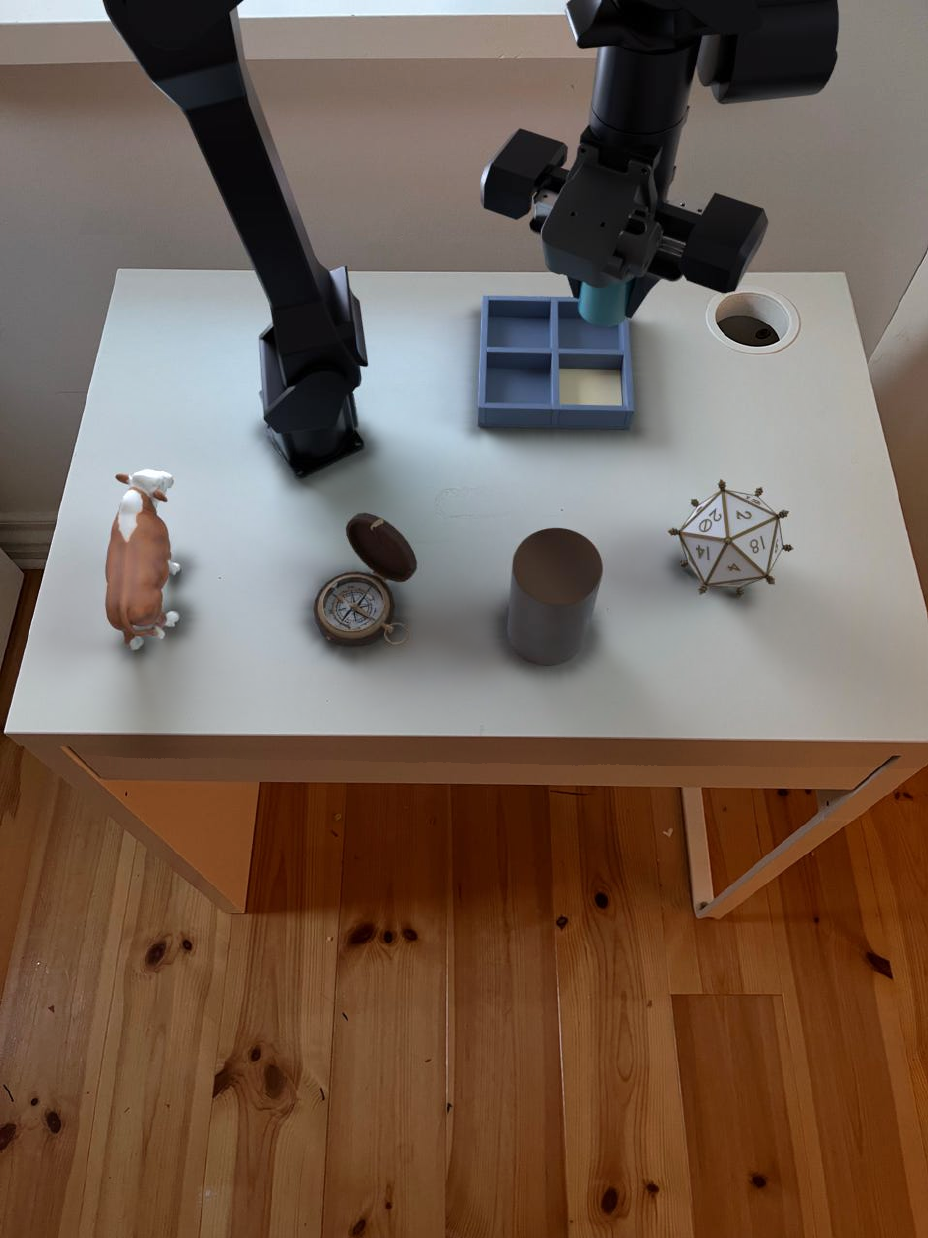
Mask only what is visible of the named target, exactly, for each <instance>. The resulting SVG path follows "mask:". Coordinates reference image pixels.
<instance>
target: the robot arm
mask: <svg viewBox="0 0 928 1238" xmlns="http://www.w3.org/2000/svg"><path fill="white" fill-rule="evenodd" d="M101 1H102V5H103V7H104V10H105V13H106V15H107V18H108V19H109V20H110V22H111V24H112V26H113V28H114V29H115V30H116V32H117V34H118V35H119V36H120V38H121V40H122V41H123V43H124V44H125V45H126V47H127V48H128V50H129V51H130V53H131V54H132V56H133V57H134V59H135V61H136V62H137V63H138V65H139V66H140V68H141V70H142V71H143V72H144V74H145V75H146V77H147V79H148V80H149V81H150V82H151V83H152V84H153V85H154V86H155V87H156V88H158V89H159V91H161V93H163V94H164V95H165V96H166V97H167V98H168V99H169V100H170V101H172V102H173V104H175V105H176V106H177V107H178V108H179V110H180V111H181V112H182V114H183V115H184V117H185V118H186V120H187V123H188V125H189V127H190V129H191V131H192V133H193V136H194V138H195V140H196V143H197V145H198V148H199V150H200V151H201V154H202V156H203V158H204V161H205V162H206V163H205V164H206V165H207V167H208V169H209V171H210V174H211V176H212V179H213V180H214V183H215V185H216V187H217V189H218V192H219V194H220V196H221V199H222V200H223V203H224V205H225V207H226V210H227V212H228V214H229V217H230V219H231V221H232V223H233V225H234V228H235V230H236V232H237V235H238V236H239V240H240V241H241V243H242V246H243V248H244V251H245V252H246V255H247V257H248V260H249V261H250V264H251V267H252V268H253V271H254V272H255V275H256V277H257V279H258V282H259V284H260V287H261V288H262V290H263V293H264V295H265V298H266V301H268V305H269V309H270V315H271V322H270V323H269V325H268V326H267V327H266V328H265V329H264V330H263V331H262V332H261V333H260V334H259V335H258V352H259V354H258V355H259V368H260V370H259V371H260V384H261V390H259V392H258V394H259V398H260V401H261V404H262V416H263V417H262V418H263V421H264V422H265V423H266V424H265V425H264V430H265V431H264V432H265V434H267V436H268V438H269V440H270V441H271V443H272V444H273V446H274V447H275V448H276V450H277V452H278V453H279V455H280V456H281V458H282V459H283V460H284V462H285V464H286V465H287V467H288V468H289V469H290V471H291V473H292V475H293V476H294V477H295V478H296V479H298V480H303V479H305V478H307V477H310V476H311V475H313V474H315V473H318V472H319V471H322V470H324V469H326V468H328V467H330V466H332V465H334V464H336V463H338V462H340V461H343V460H344V459H346V458H348V457H351V456H353V455H354V454H356V453H359V452H361V451H362V450H363V449H364V448H365V441H364V439H363V438H362V436H361V435H360V434H359V432H358V431H357V430H356V429H357V428H359V424H360V422H359V417H358V411H357V406H356V405H357V404H356V399H355V394H354V391H355V390H356V389H357V388H359V387H361V384H362V380H363V377H362V369H361V367H363V368H368V367H369V359H368V353H367V344H366V335H365V329H364V323H363V316H362V307H361V301H360V299H358V297H357V296H355V294H354V293H353V291H352V289H351V286H350V285H351V284H350V279H349V271H348V266H347V265H343V266H341V267H338V268H335V269H333V270H331V271H329V270H328V269H327V268H326V267H325V266H324V265H323V264H321V262H319V260H318V258H317V257H316V254H315V250H314V248H313V246H312V243H311V240H310V237H309V235H308V232H307V229H306V227H305V223H304V221H303V217H302V216H301V212H300V210H299V208H298V207H299V206H298V204H297V202H296V199H295V196H294V193H293V191H292V187H291V184H290V182H289V179H288V176H287V174H286V171H285V169H284V166H283V163H282V160H281V157H280V154H279V152H278V149H277V147H276V143H275V141H274V138H273V135H272V133H271V130H270V127H269V125H268V121H267V118H266V115H265V113H264V110H263V108H262V104H261V102H260V100H259V97H258V94H257V91H256V88H255V86H254V83H253V80H252V77H251V74H250V72H249V69H248V66H247V61H246V56H245V50H244V44H243V36H242V30H241V24H240V17H239V12H238V6H239V5H240V4H241V3H243V2H244V1H245V0H101ZM838 1H839V0H568V1H567V2H566V3H565V6H564V13H565V16H566V19H567V21H568V24H569V27H570V30H571V34H572V37H573V39H574V41H575V44H576V46H577V47H578V48H579V49H581V50H587V49H588V50H589V49H597V52H596V59H595V68H594V76H593V83H592V92H591V99H590V107H589V114H588V124H587V125H586V127H585V128H584V130H583V131H582V133H580V136H579V142H578V143H579V144H578V146H577V148H576V155H575V156H576V157H575V159H574V162H573V163H572V166H571V168H570V169H567V168H563V167H564V166H565V164H566V163H567V161H568V153H569V152H568V150H569V147H568V145H566V143H565V142H563V141H560V140H557V139H555V138H552V137H548V136H545V135H543V134H539V133H536V132H533V131H529V130H527V129H524V128H521V127H519V128H518V129H517V130H515V131H513V133H512V134H510V136H508V137H507V139H506V141H505V142H504V143H503V144H502V145H501V147H500V148H499V149H498V151H497V152H496V153H495V154H494V155H493V157H492V158H491V159H490V160H489V162H488V163H487V164H486V165H485V167H484V169H483V172H482V175H481V178H480V203H481V205H482V208H483V209H485V210H488V211H490V212H493V213H496V214H499V215H502V216H505V217H507V218H509V219H513V220H515V221H518V220H520V219H521V218H523V217H525V216H527V215H528V214H529V213H530V212H531V210H532V207H533V206H532V205H533V204H534V215H533V216H532V218H531V220H530V221H529V223H528V227H529V229H530V231H531V232H532V233H534V234H536V235H539V236H540V237H541V238H540V239H541V245H542V252H543V258H544V264H545V267H546V269H548V271H549V272H551V273H553V274H556V275H559V276H560V275H563V276H566V278H567V281H568V284H569V287H570V288H569V289H570V290H571V293H572V297H574V298H576V299H579V294H580V287H581V281H582V282H584V283H586V284H587V285H588V286H591V287H594V288H604V287H607V286H608V285H610V284H611V283H612V282H613V281H614V279H618V280H620V281H624V280H625V279H626V277H627V276H628V275H635V276H637V279H636V282H635V285H634V288H633V291H632V294H631V297H630V300H629V302H628V307H627V315H626V317H627V318H628V319H632V318H633V317H634V316H635V314H636V312H637V311H638V309H639V308H640V306H641V305H642V303H643V302H644V300H645V299H646V297H647V296H648V295H649V293H650V292H651V290H652V289H653V288H654V287H655V286H656V285H657V284H658V283H659V282H660V281H662V280H665V281H668V282H670V283H672V282H673V283H674V282H678V281H680V280H681V279H682V278H683V277H684V278H685V280H686V282H689V283H692V284H695V285H698V286H701V287H704V288H707V289H708V290H711V291H715V292H718V293H721V294H724V295H725V294H729V293H733V292H736V291H737V289H738V286H740V283H741V282H742V279H743V277H745V274H746V273H747V270H748V269H749V267H750V265H751V263H752V262H753V260H754V258H755V256H756V254H757V252H758V251H759V249H760V247H761V245H762V243H763V242H764V241H763V240H764V238H765V234H766V232H767V229H768V226H769V219H768V216H767V214H766V210H765V208H764V207H760V206H757V205H755V204H752V203H748V202H745V201H742V200H739V199H736V198H733V197H730V196H727V195H724V194H721V193H718V192H714V193H713V194H712V196H711V198H710V200H709V201H708V203H707V204H703V203H700V202H698V201H695V200H692V199H688V198H685V197H679V198H676V199H674V200H670V199H668V196H669V195H668V194H669V190H670V186H671V185H672V183H673V182H674V180H675V175H676V170H677V165H675V162H676V158H677V154H678V149H679V146H680V145H679V144H680V141H681V136H682V131H683V128H684V126H685V125H686V123H687V121H688V117H689V112H690V107H691V106H690V105H689V100H690V95H691V90H692V86H693V81H694V77H695V72H696V73H697V77H698V79H699V82H700V84H701V86H703V87H704V88H708V87H710V89H711V92H712V95H713V98H714V99H715V100H716V102H717V103H718V104H720V105H723V106H725V105H733V104H740V103H752V102H759V101H761V102H763V101H769V100H771V101H772V100H780V99H789V98H797V97H798V98H799V97H808V96H814V95H818V94H819V93H821V91H823V90H824V88H825V87H826V86H827V84H828V82H830V79H831V76H832V75H833V73H834V70H835V67H836V64H837V62H838V57H839V55H838V53H839V52H838V51H837V46H838V40H839V30H840V10H839V2H838Z"/></svg>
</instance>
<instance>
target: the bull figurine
mask: <svg viewBox="0 0 928 1238" xmlns="http://www.w3.org/2000/svg"><path fill="white" fill-rule="evenodd" d="M115 479H116V480H117V482H120V483H121V484H125V485H129V489H128V490H127V491H126V492H125V493H124V495H123V496H122V497H121V500H120V504H119V506H118V511H117V513H116V516H115V517H114V520H113V522H112V525H111V529H110V537H109V538H110V539H109V543H108V545H107V550H106V551H107V552H106V560H105V568H104V569H105V570H104V571H105V573H104V574H105V581H106V592H105V602H104V606H105V613H106V618H107V621H108V623H109V624H110V626H111V627H112V628H113V629H115V630H117V631H120V632H122V634H123V639H124V640H123V641H124V643H125V644H126V645H129V646H130V650H132V651H134V650H138V649H140V647H142V646H143V645H144V643H145V640H144V636H147V635H150V636H151V637H154V638H157V639H159V640H163V638H165V635H166V633H165V631H164V630H163V628H164V627H166V628H171V627H176V626H175V623H177V622H178V621H179V619H180V614H179V612H177V611H175V610H170V611H169V612H167V613H165V612H163V602H164V601H163V600H164V595H163V591H162V590H163V588H164V587H165V586H166V584H167V583H168V580H169V577H170V575H173V576H175V575H176V574H177V573H179V572H180V571H181V568H182V567H181V564H179V563H178V562H174V561H172V557H173V556H172V552H171V548H172V547H171V541H170V534H169V529H168V526H167V524H166V522H165V521H164V520H163V519H162V518H161V517H160V516H159V515H158V511H157V508H158V503H159V502H164V503H167V502H168V501H169V500H168V498H167V496H166V495H167V492H168V489H171V488H172V487H173V486H174V482H175V481H174V479H173V475H172V474H170V473H169V472H166V471H163V470H162V471H157V470H154V469H143V470H140V471H137V472H134V473H133V474H132V476H131V475H130V474H127V473H117V474H115ZM152 625H153V626H152ZM134 626H135V627H140V628H145V627H149V626H152V627H151V628H145V629H141V630H139V629H136V628H135V627H134Z"/></svg>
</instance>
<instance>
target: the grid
mask: <svg viewBox="0 0 928 1238" xmlns="http://www.w3.org/2000/svg"><path fill="white" fill-rule="evenodd" d="M578 301H579V299H576V298H574V297H573V296H542V295H541V296H537V295H535V296H533V295H482V296H481V317H480V346H479V371H478V372H479V373H478V397H477V398H478V400H477V427H494V428H495V427H497V428H498V427H499V428H537V429H538V428H539V429H540V428H541V429H542V428H543V429H583V430H584V429H585V430H589V429H590V430H592V429H593V430H631V427H632V423H633V418H634V413H635V401H634V400H635V399H634V386H633V384H634V383H633V369H632V354H631V339H630V323H629V318H627V319H626V320H625V321H624V322H622V323H620V324H618V325H615V326H611V327H601V326H596V325H593V324H591V323H589V322H587V321H586V320H585V319H584V318H583V317H582V316H581V315H580V313H579V310H578Z"/></svg>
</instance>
